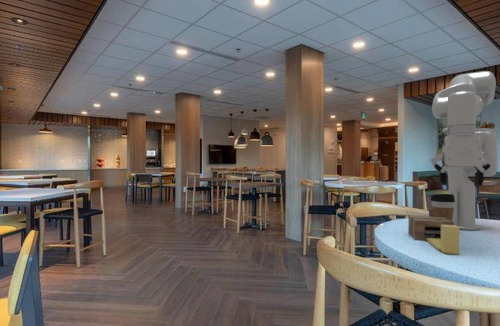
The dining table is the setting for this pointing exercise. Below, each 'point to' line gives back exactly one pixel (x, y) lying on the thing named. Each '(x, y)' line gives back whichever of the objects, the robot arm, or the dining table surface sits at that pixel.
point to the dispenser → (426, 226)
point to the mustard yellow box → (447, 239)
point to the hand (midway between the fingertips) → (460, 185)
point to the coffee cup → (442, 205)
